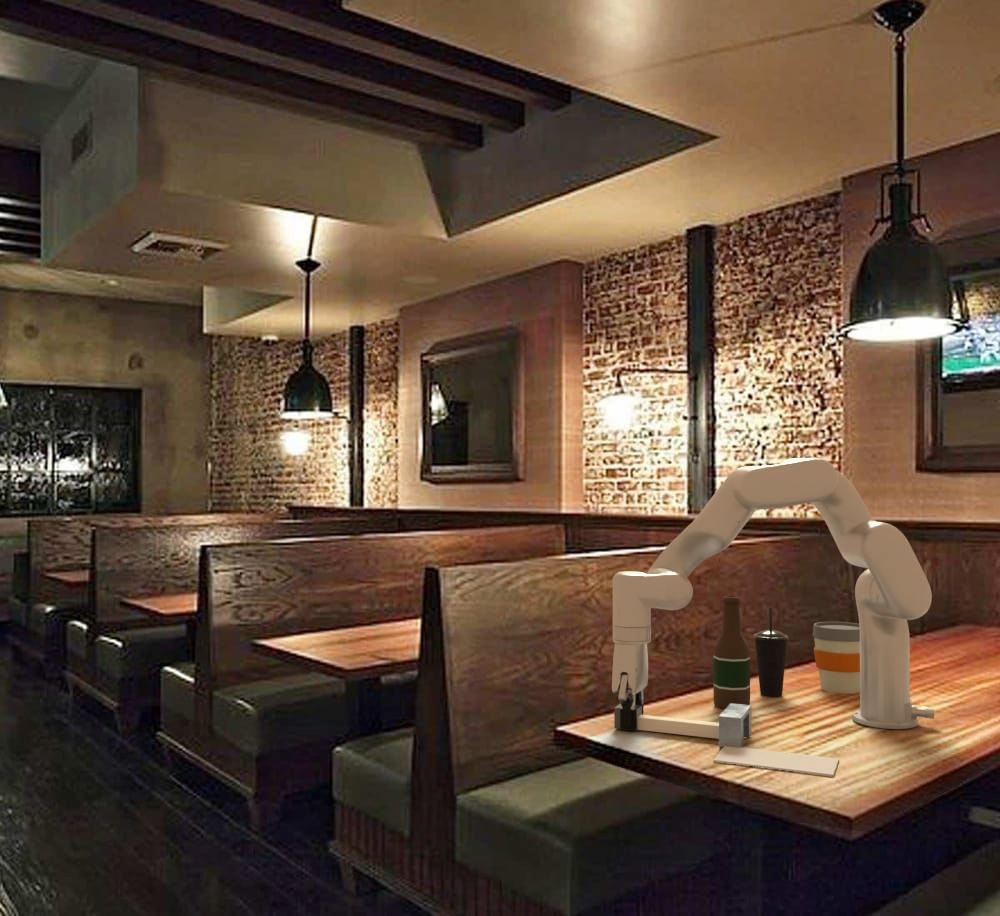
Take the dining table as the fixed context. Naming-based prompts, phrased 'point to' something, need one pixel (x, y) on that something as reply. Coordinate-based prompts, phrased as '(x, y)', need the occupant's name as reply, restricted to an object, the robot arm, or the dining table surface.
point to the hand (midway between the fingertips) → (632, 725)
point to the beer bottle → (731, 659)
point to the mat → (778, 760)
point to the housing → (735, 725)
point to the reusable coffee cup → (838, 656)
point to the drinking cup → (771, 660)
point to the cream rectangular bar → (671, 724)
